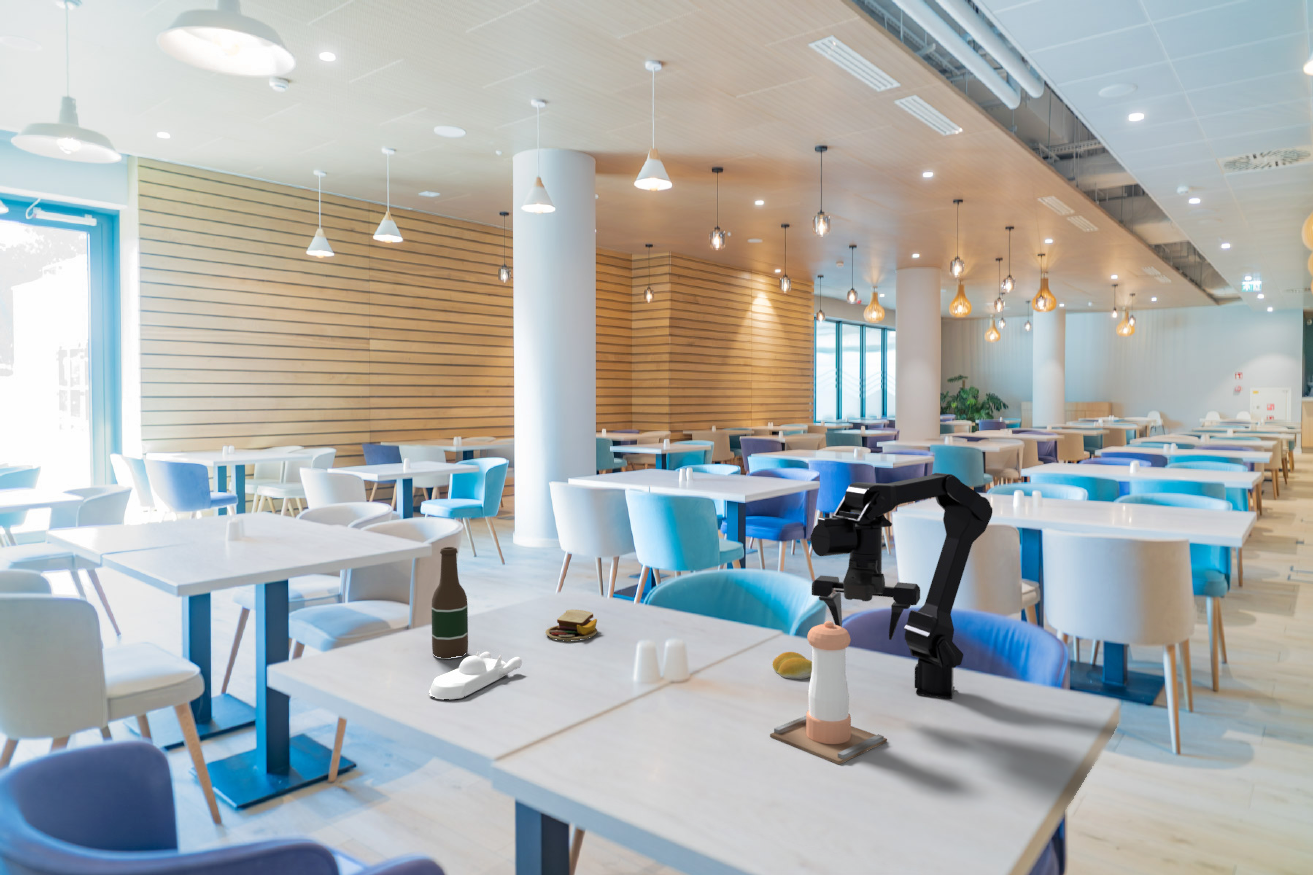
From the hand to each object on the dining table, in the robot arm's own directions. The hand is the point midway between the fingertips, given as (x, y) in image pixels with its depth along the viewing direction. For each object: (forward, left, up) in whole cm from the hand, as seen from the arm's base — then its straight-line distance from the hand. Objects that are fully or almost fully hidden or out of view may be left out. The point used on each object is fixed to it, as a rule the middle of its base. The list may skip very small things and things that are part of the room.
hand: (864, 636), depth 150 cm
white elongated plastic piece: (+74, +21, -14) cm, 78 cm away
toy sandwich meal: (+74, -18, -14) cm, 77 cm away
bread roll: (+17, -13, -14) cm, 25 cm away
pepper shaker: (+3, +17, -13) cm, 22 cm away
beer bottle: (+90, +7, -13) cm, 91 cm away
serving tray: (+3, +18, -13) cm, 22 cm away
